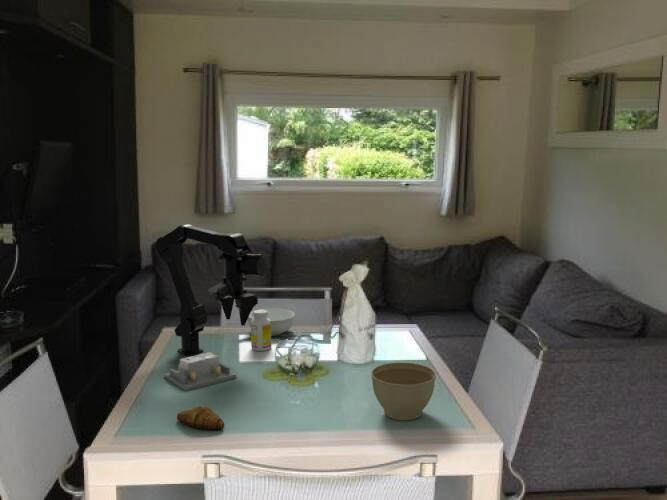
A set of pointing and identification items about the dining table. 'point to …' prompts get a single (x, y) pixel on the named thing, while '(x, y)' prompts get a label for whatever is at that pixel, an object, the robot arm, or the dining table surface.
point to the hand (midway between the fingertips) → (235, 322)
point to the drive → (199, 365)
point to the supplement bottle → (260, 331)
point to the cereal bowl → (277, 320)
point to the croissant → (201, 418)
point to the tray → (181, 380)
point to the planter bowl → (403, 388)
